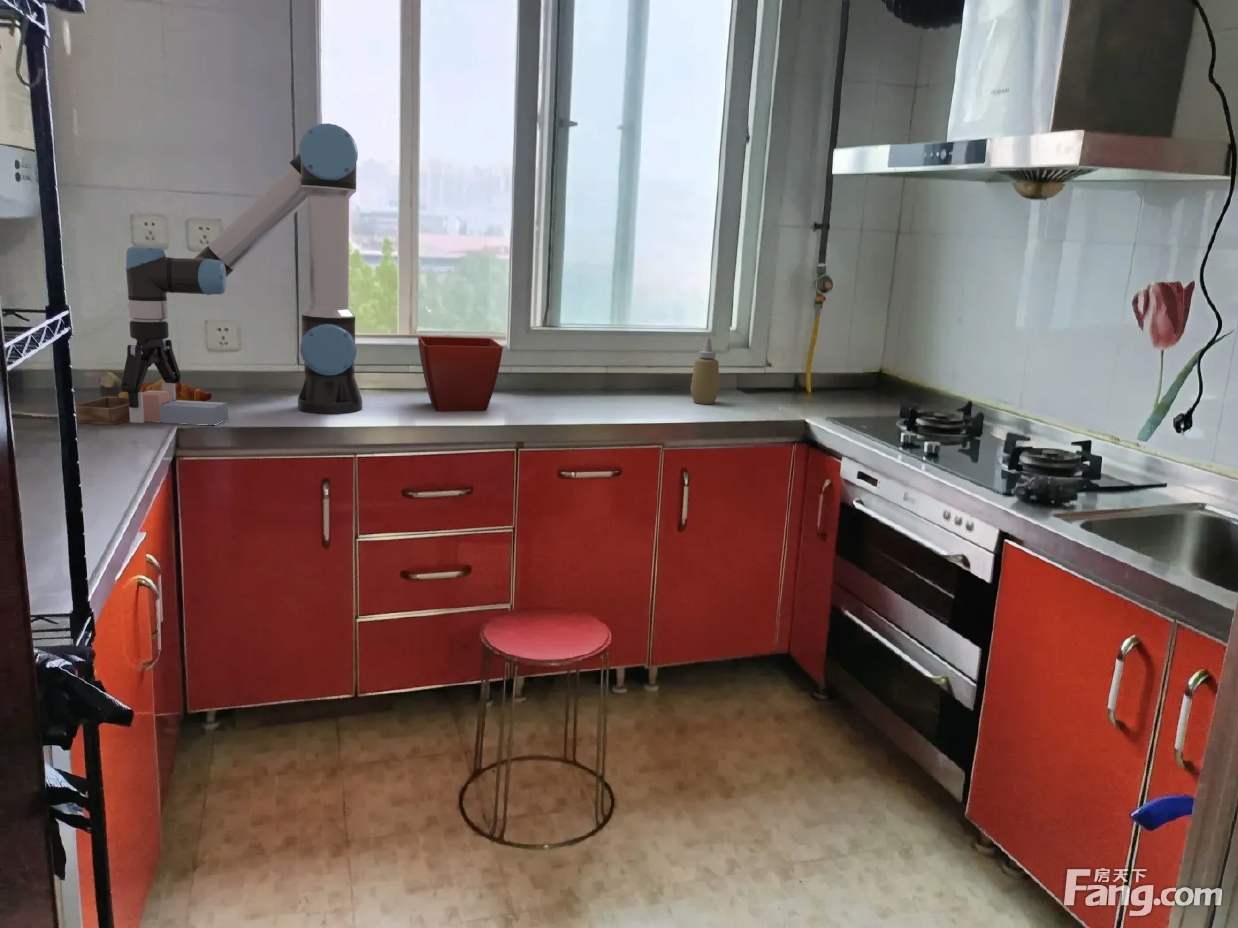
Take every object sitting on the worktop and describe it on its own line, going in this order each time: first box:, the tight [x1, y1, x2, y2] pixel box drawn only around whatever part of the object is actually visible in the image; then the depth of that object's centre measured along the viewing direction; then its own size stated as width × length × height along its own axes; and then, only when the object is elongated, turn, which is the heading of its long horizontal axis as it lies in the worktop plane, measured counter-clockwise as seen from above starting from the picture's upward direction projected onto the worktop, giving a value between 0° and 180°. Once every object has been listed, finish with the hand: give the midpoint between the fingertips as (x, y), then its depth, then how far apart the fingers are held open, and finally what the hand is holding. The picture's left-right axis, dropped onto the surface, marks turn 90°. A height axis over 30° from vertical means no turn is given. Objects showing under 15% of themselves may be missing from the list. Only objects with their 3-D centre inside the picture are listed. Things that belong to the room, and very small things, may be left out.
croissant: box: [117, 378, 213, 402], centre depth 232 cm, size 21×10×8 cm, turn 99°
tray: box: [75, 395, 130, 426], centre depth 213 cm, size 10×14×3 cm
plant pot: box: [417, 336, 504, 412], centre depth 245 cm, size 19×19×17 cm
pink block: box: [142, 390, 171, 422], centre depth 214 cm, size 5×5×6 cm
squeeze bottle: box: [690, 338, 720, 405], centre depth 270 cm, size 8×8×18 cm
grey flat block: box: [159, 400, 229, 425], centre depth 213 cm, size 12×7×4 cm, turn 86°
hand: (154, 416), depth 214 cm, fingers open, 13 cm apart
